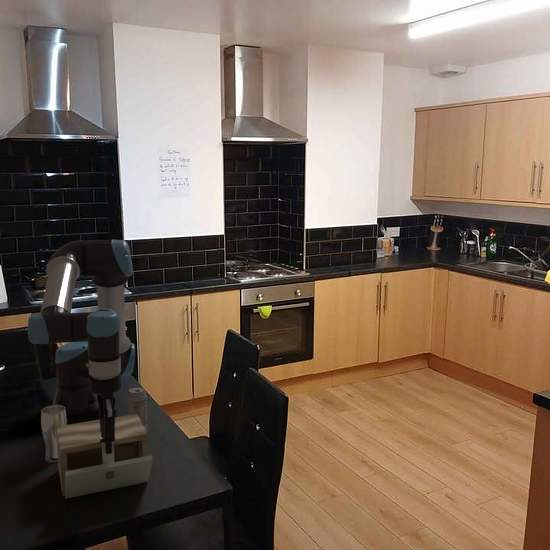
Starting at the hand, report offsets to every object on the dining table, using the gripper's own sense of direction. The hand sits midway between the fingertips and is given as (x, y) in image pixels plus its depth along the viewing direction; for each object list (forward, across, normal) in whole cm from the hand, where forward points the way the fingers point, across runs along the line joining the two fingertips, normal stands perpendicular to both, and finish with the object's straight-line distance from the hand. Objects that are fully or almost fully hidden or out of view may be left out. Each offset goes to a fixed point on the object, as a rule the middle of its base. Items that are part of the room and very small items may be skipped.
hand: (108, 463), depth 146 cm
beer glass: (+10, -29, -11) cm, 33 cm away
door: (+9, -4, 0) cm, 10 cm away
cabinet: (+10, -12, 0) cm, 16 cm away
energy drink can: (+10, -35, +14) cm, 39 cm away
